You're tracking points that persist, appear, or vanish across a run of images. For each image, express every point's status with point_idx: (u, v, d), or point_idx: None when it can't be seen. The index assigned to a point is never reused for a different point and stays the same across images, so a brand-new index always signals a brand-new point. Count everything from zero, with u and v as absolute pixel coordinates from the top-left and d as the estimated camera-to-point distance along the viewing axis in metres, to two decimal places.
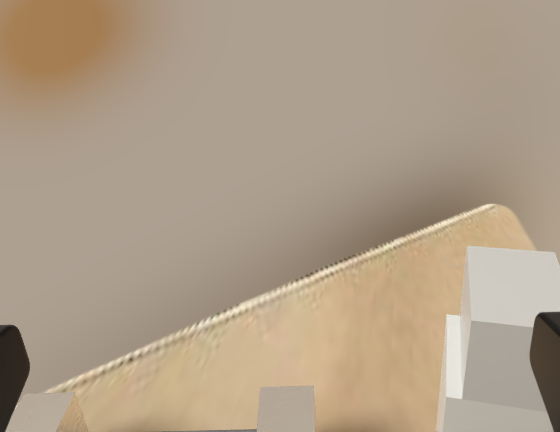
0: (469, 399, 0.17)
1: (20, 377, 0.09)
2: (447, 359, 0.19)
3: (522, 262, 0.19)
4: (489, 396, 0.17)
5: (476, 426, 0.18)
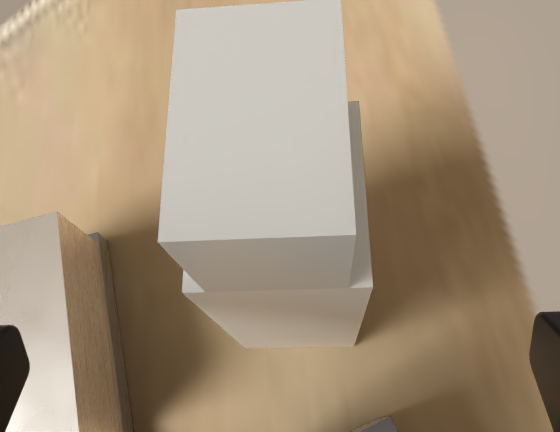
0: (217, 289, 0.11)
1: (20, 377, 0.09)
2: None
3: (275, 42, 0.09)
4: (242, 288, 0.11)
5: (240, 302, 0.12)
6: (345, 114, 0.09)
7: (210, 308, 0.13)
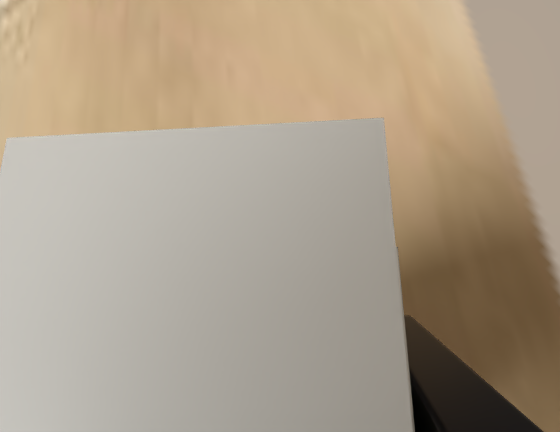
0: None
1: None
2: None
3: (227, 233, 0.04)
4: None
5: None
6: None
7: None
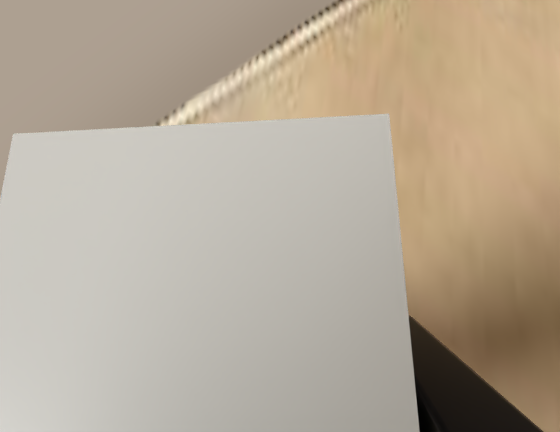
0: None
1: None
2: None
3: (234, 228, 0.04)
4: None
5: None
6: None
7: None
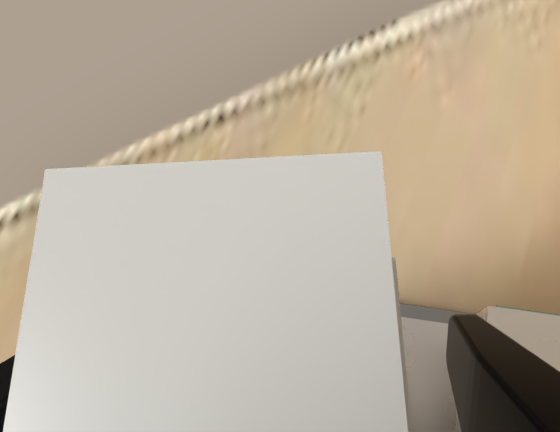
0: None
1: None
2: None
3: (244, 255, 0.04)
4: None
5: None
6: None
7: None
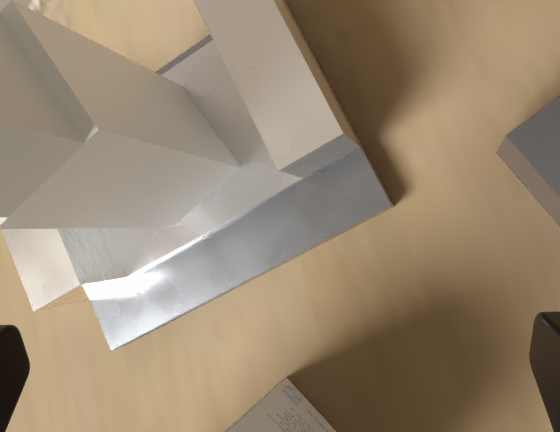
0: (13, 209, 0.14)
1: (20, 377, 0.09)
2: None
3: None
4: (19, 196, 0.13)
5: (54, 205, 0.15)
6: None
7: (49, 223, 0.15)
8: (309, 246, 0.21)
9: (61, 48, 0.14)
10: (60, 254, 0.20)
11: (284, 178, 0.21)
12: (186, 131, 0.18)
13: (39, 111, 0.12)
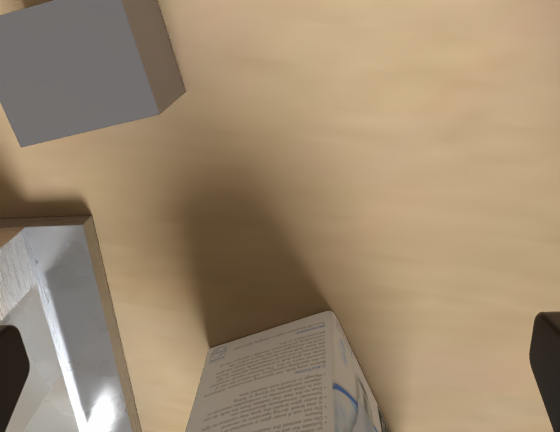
0: None
1: (20, 377, 0.09)
2: None
3: None
4: None
5: None
6: None
7: None
8: (99, 297, 0.23)
9: None
10: None
11: (32, 295, 0.23)
12: None
13: None
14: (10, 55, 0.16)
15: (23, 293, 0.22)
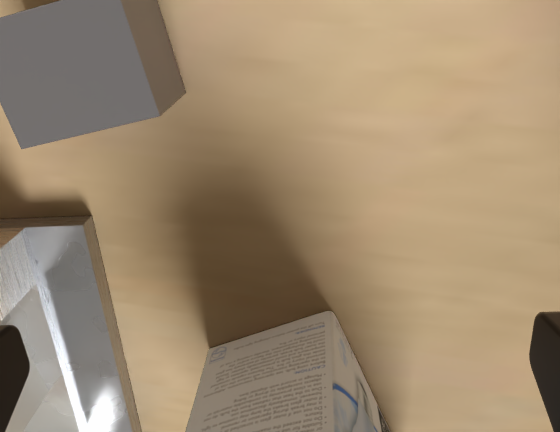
0: None
1: (20, 377, 0.09)
2: None
3: None
4: None
5: None
6: None
7: None
8: (99, 297, 0.23)
9: None
10: None
11: (32, 296, 0.23)
12: None
13: None
14: (10, 57, 0.16)
15: (23, 293, 0.22)
